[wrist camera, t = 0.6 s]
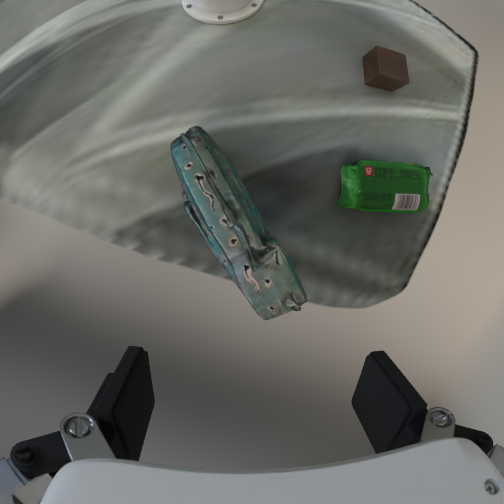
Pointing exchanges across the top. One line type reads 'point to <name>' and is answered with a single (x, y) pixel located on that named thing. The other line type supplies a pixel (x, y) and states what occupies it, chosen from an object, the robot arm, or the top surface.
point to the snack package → (384, 186)
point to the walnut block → (385, 69)
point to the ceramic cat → (234, 226)
